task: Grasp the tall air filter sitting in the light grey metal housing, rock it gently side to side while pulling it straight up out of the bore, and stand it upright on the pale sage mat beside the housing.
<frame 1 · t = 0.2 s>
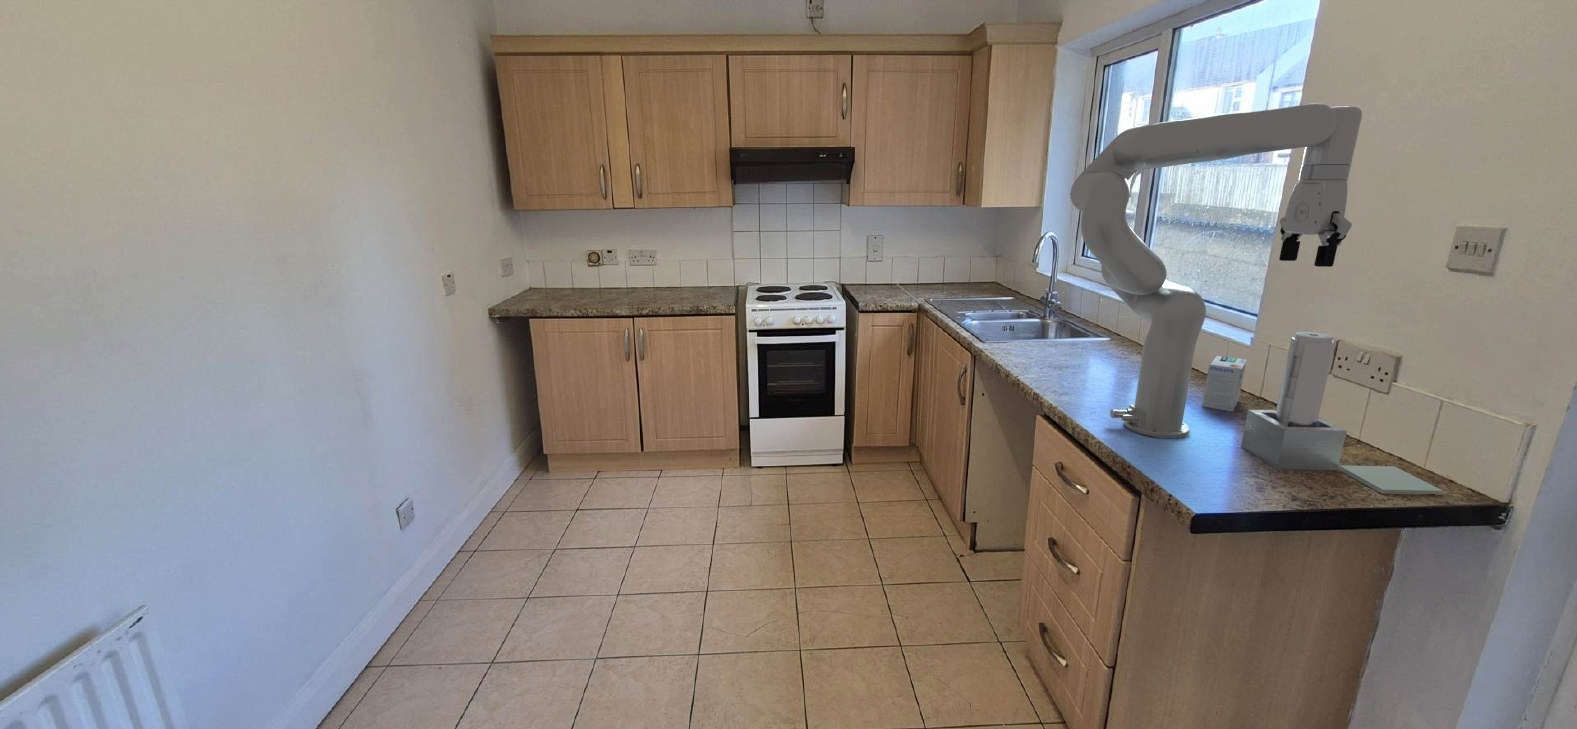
hand: (1304, 263, 131), 36 cm above the countertop, tool pointing down, fingers open, 9 cm apart
filter housing: (1287, 457, 128), on the countertop
air filter: (1286, 458, 128), resting in filter housing
light bulb box: (1220, 404, 159), on the countertop
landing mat: (1387, 481, 118), on the countertop
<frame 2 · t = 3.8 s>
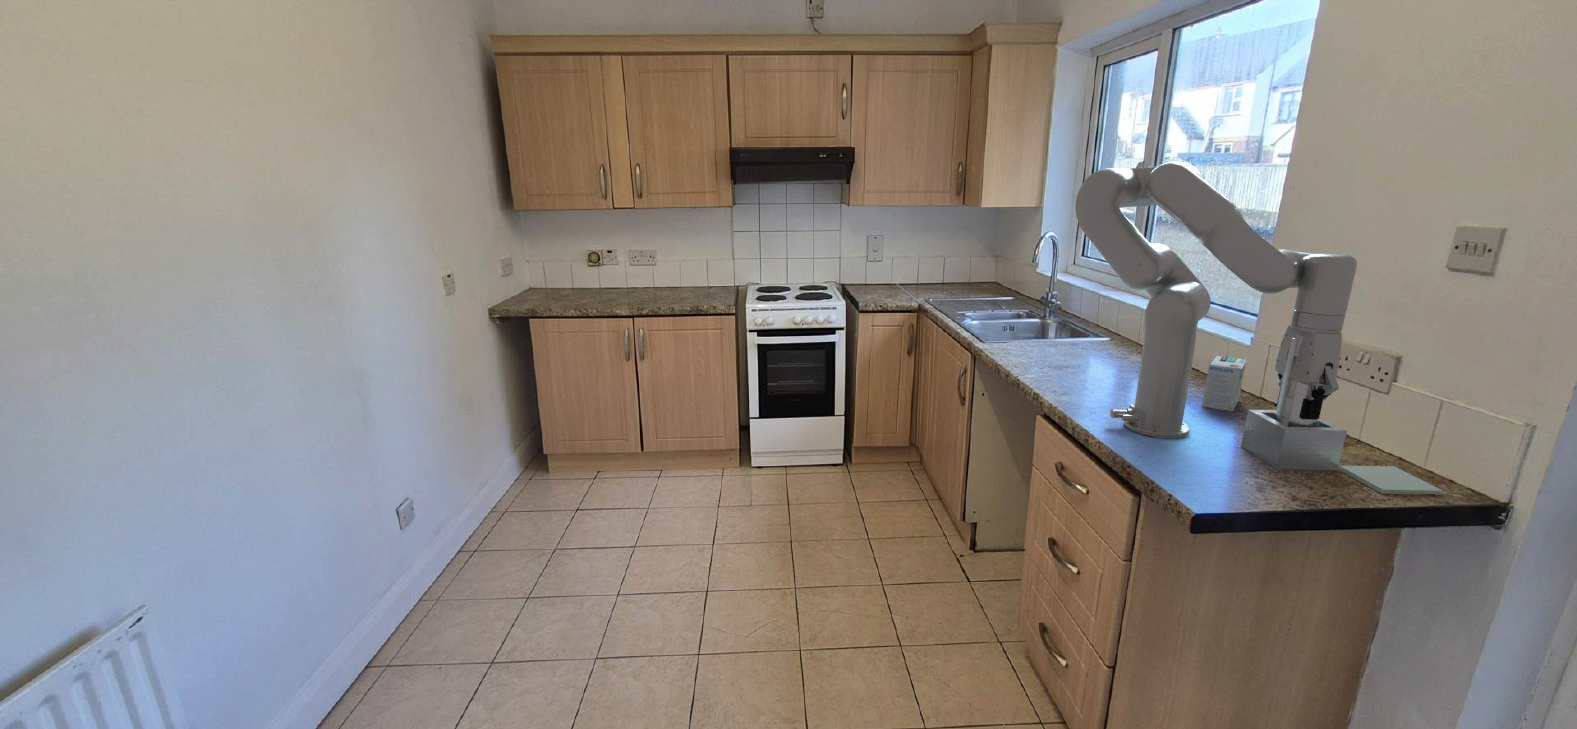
hand: (1297, 412, 125), 10 cm above the countertop, tool pointing down, fingers closed on air filter, 5 cm apart
air filter: (1286, 458, 128), resting in filter housing, touching gripper
everything else where it was.
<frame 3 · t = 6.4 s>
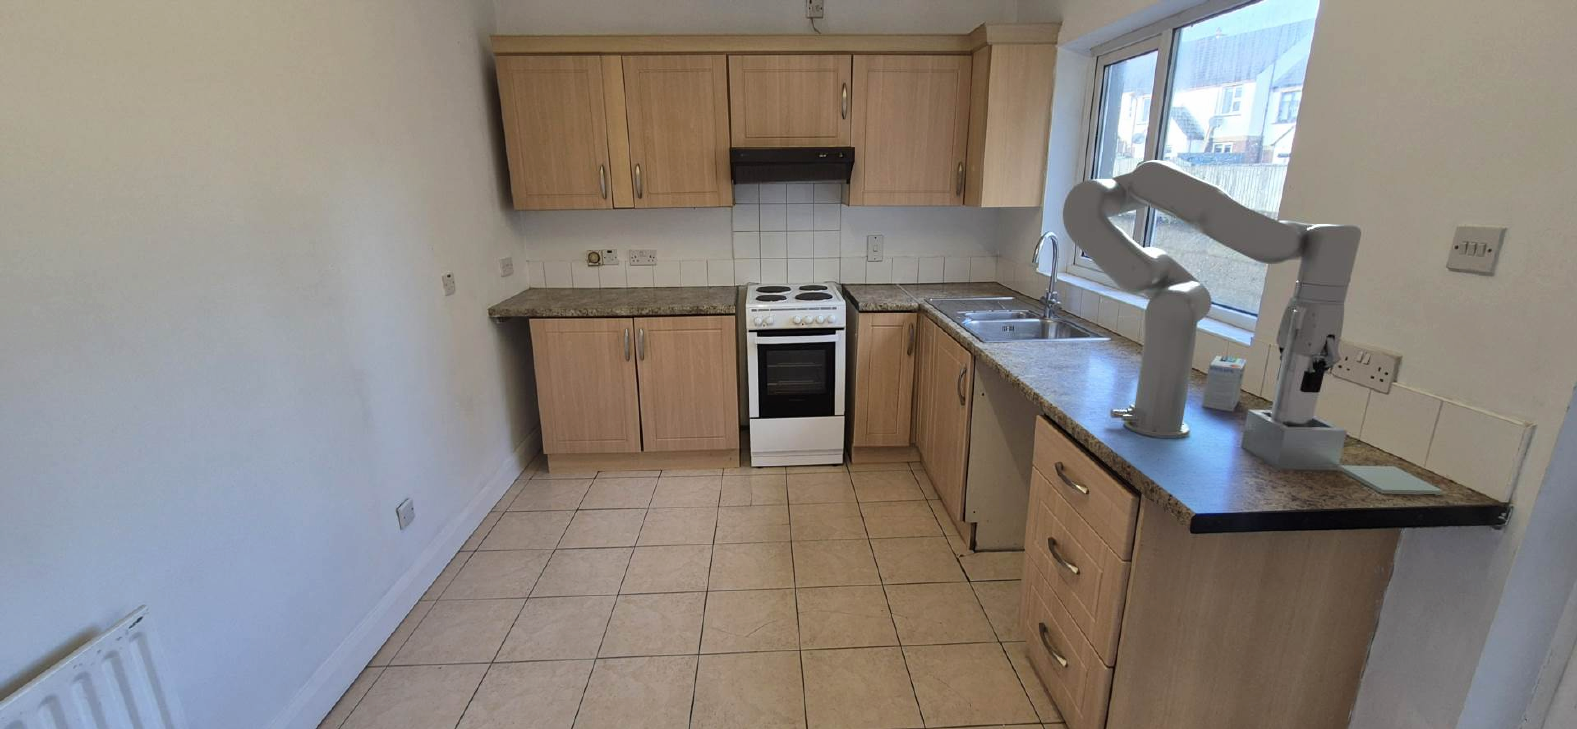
hand: (1297, 385, 124), 15 cm above the countertop, tool pointing down, fingers closed on air filter, 5 cm apart
air filter: (1287, 433, 127), point 5 cm above the countertop, touching gripper
everything else where it was.
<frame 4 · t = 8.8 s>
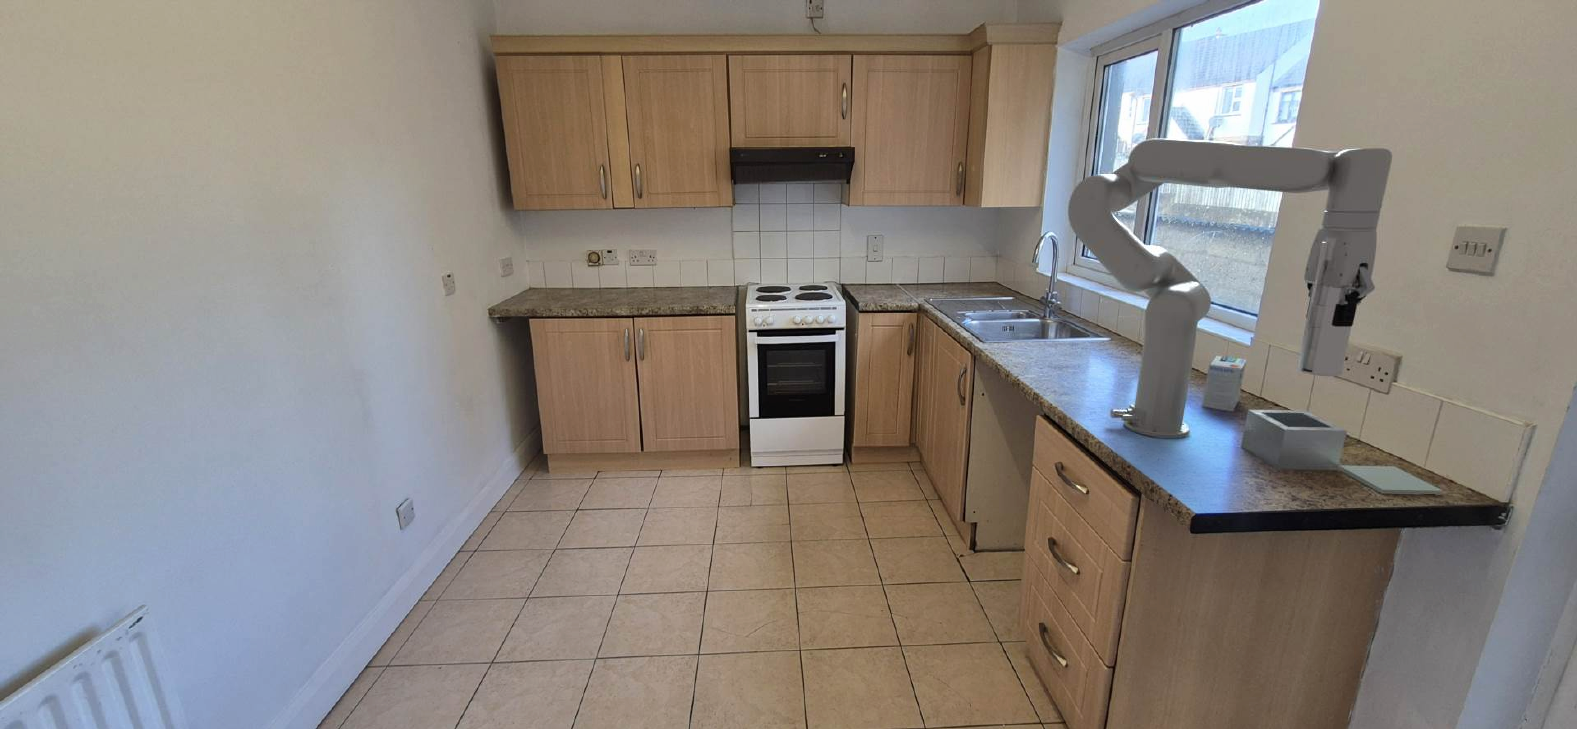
hand: (1328, 321, 119), 28 cm above the countertop, tool pointing down, fingers closed on air filter, 5 cm apart
air filter: (1318, 372, 122), point 18 cm above the countertop, touching gripper
everything else where it was.
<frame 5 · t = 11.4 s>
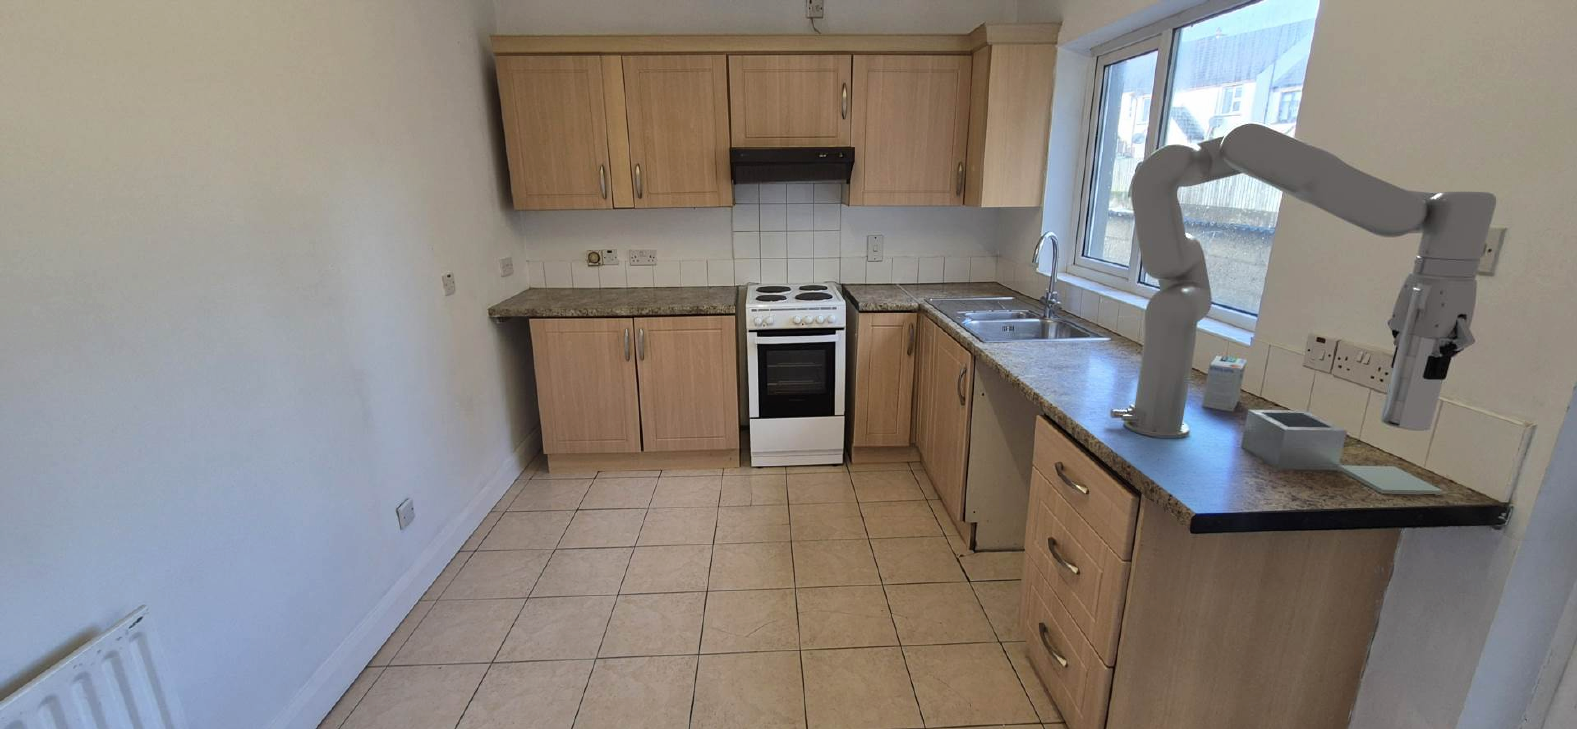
hand: (1417, 372, 112), 21 cm above the countertop, tool pointing down, fingers closed on air filter, 5 cm apart
air filter: (1404, 425, 115), point 11 cm above the countertop, touching gripper
everything else where it was.
when the fingers open (12 cm above the countertop, at t = 13.8 s): air filter drops 1 cm, resting on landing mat.
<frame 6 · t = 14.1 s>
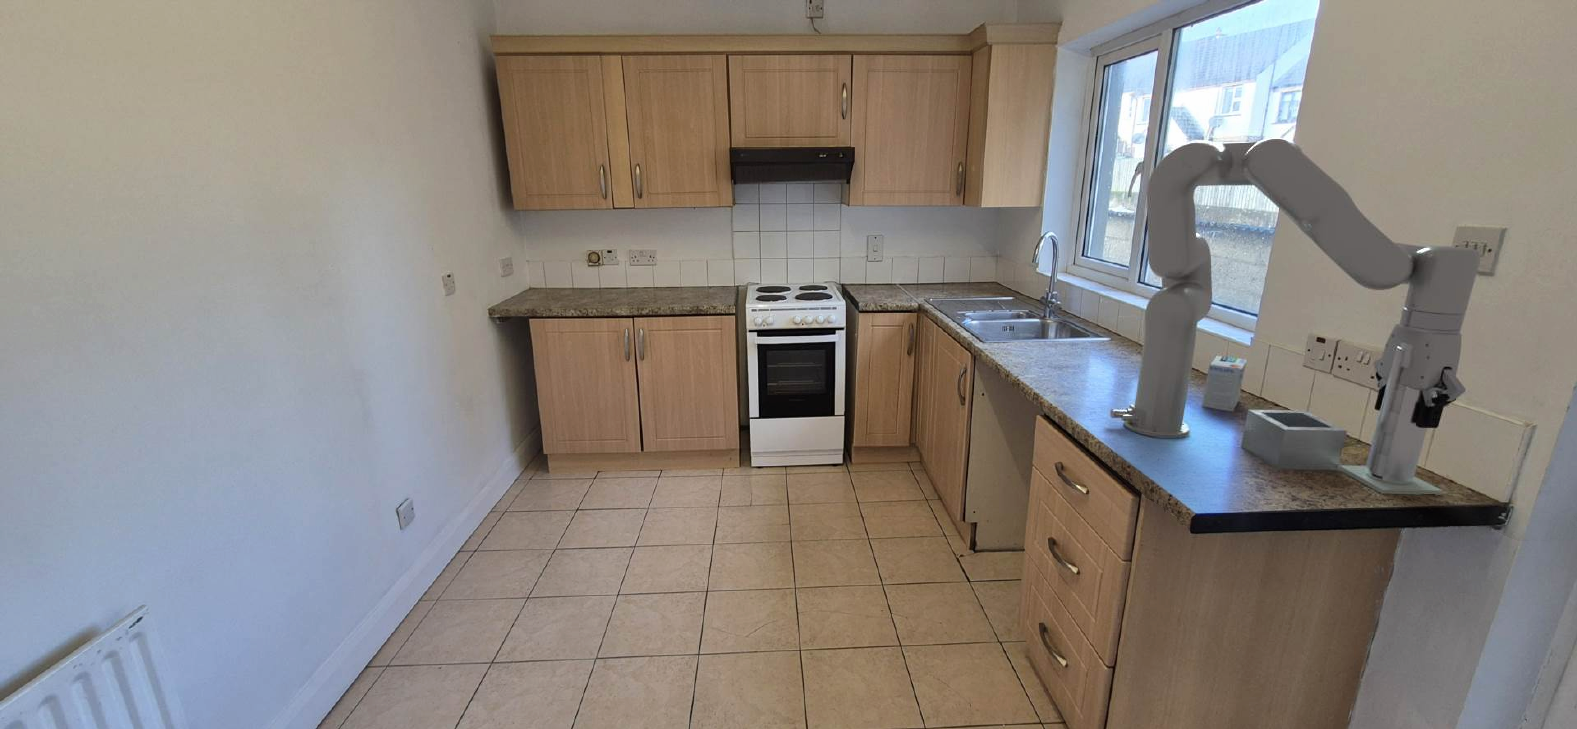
hand: (1404, 418, 114), 12 cm above the countertop, tool pointing down, fingers open, 8 cm apart
air filter: (1387, 478, 118), point 1 cm above the countertop, touching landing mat
everything else where it was.
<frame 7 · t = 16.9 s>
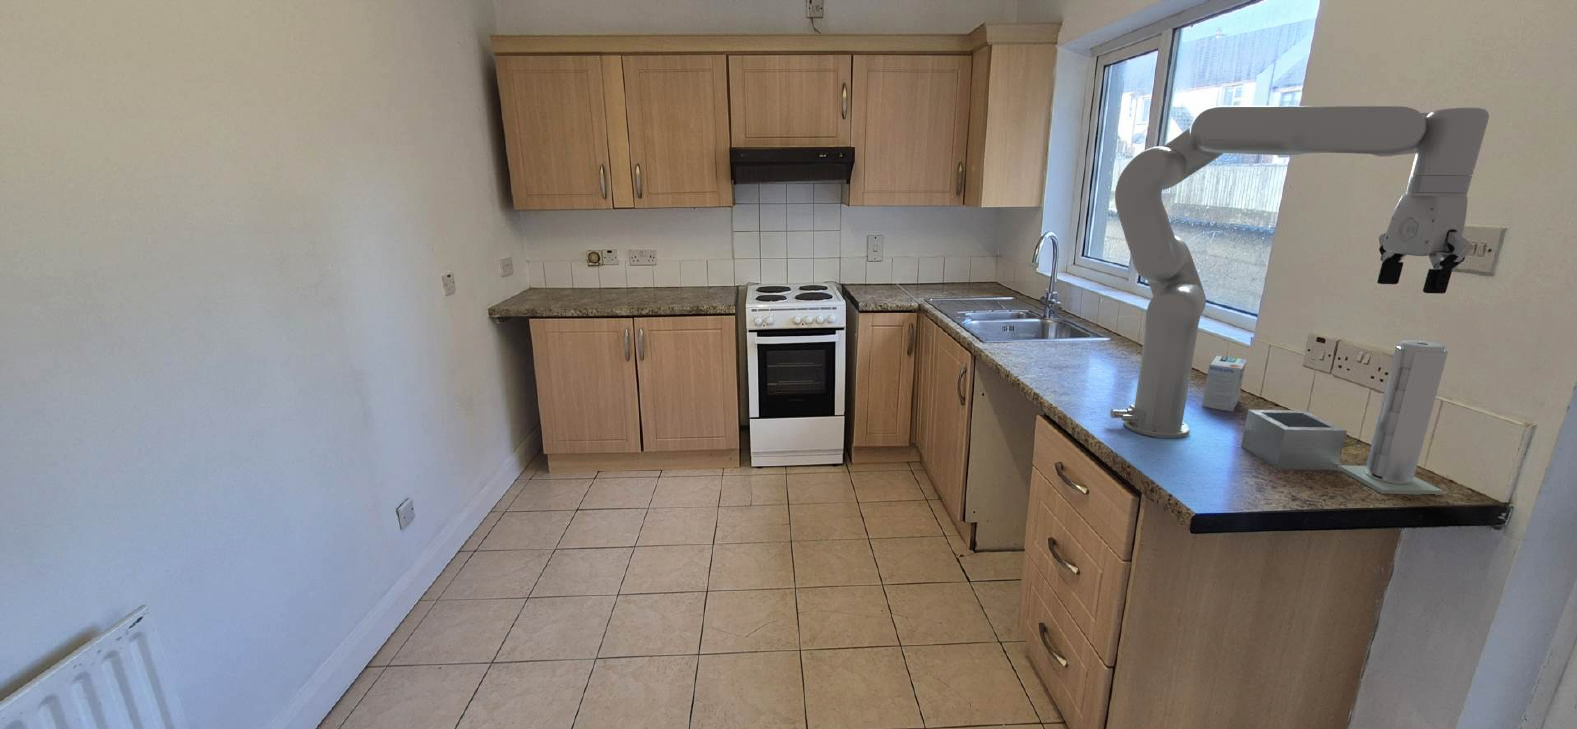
hand: (1409, 288, 114), 34 cm above the countertop, tool pointing down, fingers open, 9 cm apart
nothing on the countertop moved.
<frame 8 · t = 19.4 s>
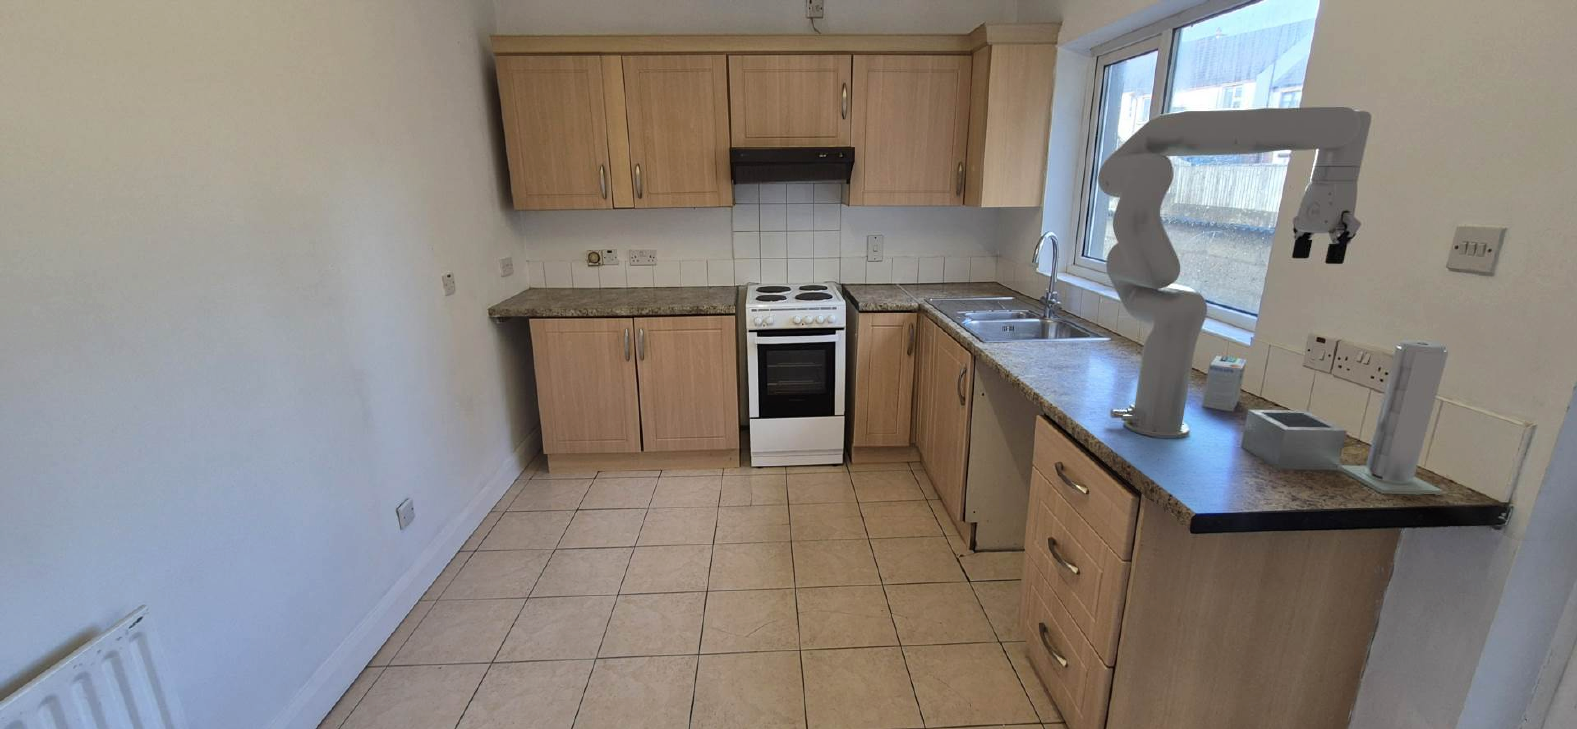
hand: (1316, 260, 137), 36 cm above the countertop, tool pointing down, fingers open, 9 cm apart
nothing on the countertop moved.
at the end: air filter inside the target area on the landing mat (0.2 cm from its centre), point 0.6 cm above the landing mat's base; air filter tilted 0°; the gripper is holding nothing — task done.
